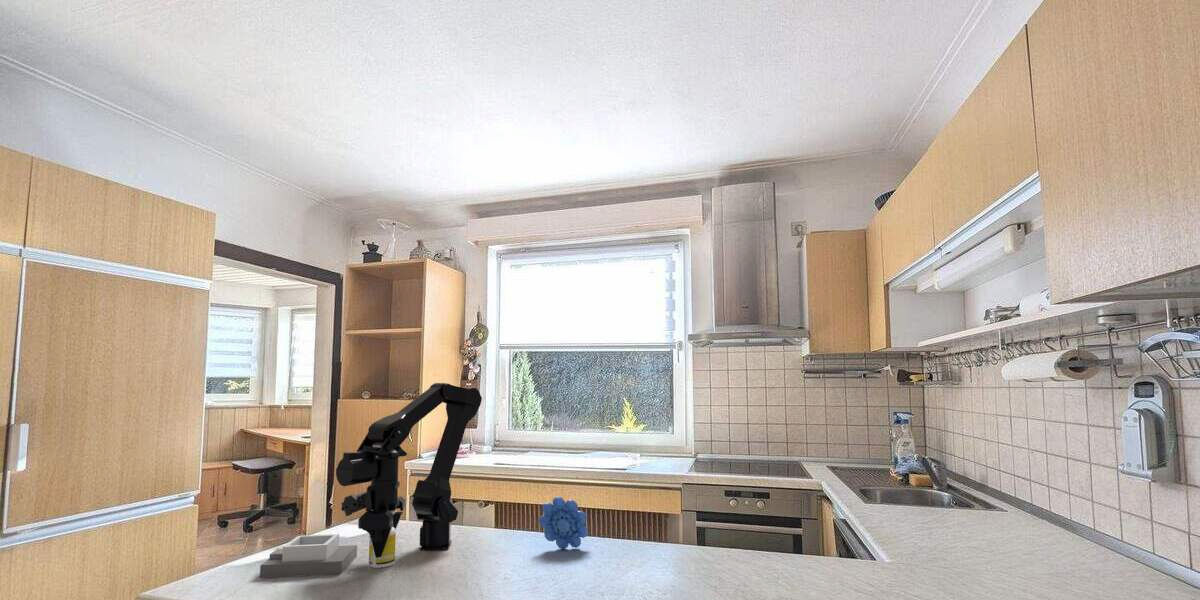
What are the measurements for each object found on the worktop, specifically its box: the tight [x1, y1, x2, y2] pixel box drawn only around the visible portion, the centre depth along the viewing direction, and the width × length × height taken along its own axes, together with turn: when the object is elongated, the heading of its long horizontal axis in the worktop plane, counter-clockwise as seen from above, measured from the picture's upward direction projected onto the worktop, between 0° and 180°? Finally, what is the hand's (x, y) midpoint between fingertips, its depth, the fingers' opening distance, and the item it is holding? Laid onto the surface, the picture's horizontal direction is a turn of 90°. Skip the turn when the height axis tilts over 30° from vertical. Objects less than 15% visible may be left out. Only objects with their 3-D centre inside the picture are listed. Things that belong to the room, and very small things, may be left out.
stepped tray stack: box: [259, 533, 358, 579], centre depth 131 cm, size 16×12×6 cm
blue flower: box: [538, 495, 589, 550], centre depth 141 cm, size 12×7×12 cm, turn 92°
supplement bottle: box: [368, 521, 397, 569], centre depth 132 cm, size 5×5×10 cm
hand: (382, 552), depth 132 cm, fingers open, 7 cm apart
